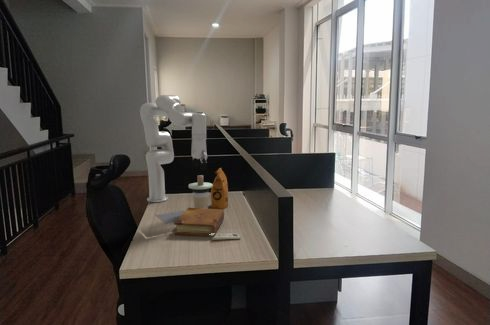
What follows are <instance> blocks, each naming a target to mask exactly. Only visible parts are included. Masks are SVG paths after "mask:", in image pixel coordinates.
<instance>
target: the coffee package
mask: <svg viewBox="0 0 490 325" xmlns="http://www.w3.org/2000/svg"><path fill="white" fill-rule="evenodd" d="M214 174H216V176H215V178H214V181H213V183H212V184H213V187H212V188H210V198H211V200H210V202H211V204H210V205H211V209H223V210H225V209H226V208H228V206H229V188H228V187H229V184H228V179H227V175H226V174H225V172H224V171H223V170H222V167H220V168H218V169H217V170H216V171H214Z"/></svg>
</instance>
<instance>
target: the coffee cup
mask: <svg viewBox="0 0 490 325" xmlns="http://www.w3.org/2000/svg"><path fill="white" fill-rule="evenodd" d="M209 189H210V188H209ZM209 189H192V191H191V192H192V200H193V208H206V209H209V197H210V196H209V195H210V194H209V192H210V190H209Z"/></svg>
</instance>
